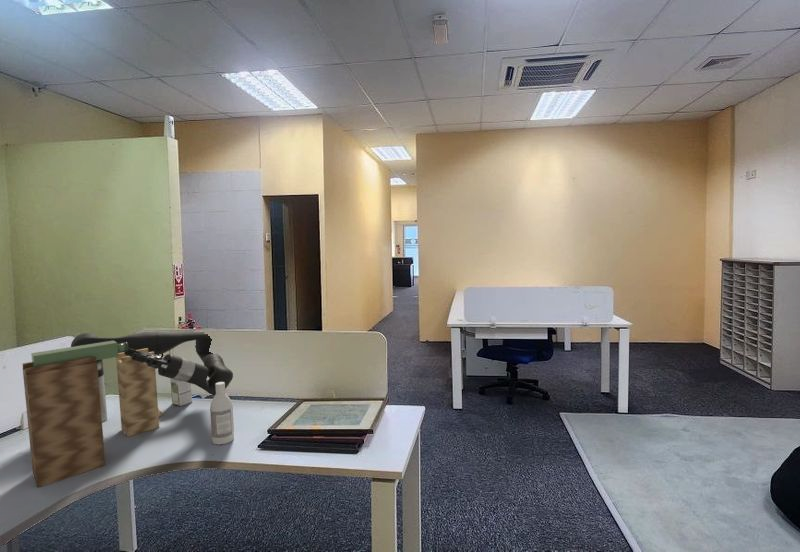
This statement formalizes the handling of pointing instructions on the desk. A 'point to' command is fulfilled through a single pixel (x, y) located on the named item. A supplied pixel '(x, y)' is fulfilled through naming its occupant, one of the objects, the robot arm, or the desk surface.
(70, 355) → the sage green plank
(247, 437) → the desk surface
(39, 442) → the brown patterned box
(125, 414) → the block
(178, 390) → the syrup box
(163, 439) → the desk surface
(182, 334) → the robot arm
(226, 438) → the bath foam
